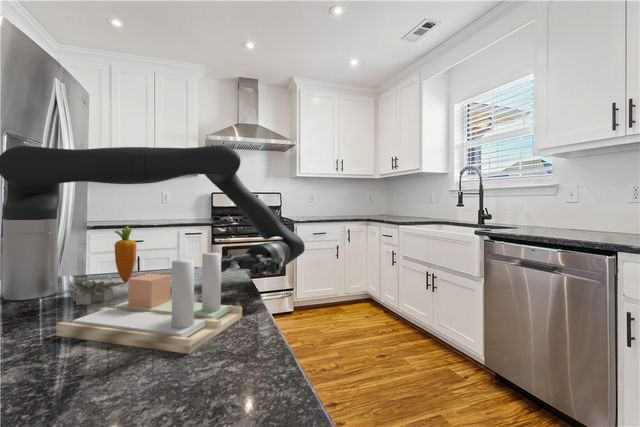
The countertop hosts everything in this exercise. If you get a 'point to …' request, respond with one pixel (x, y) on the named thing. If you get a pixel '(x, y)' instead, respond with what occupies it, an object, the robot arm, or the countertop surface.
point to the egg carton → (91, 292)
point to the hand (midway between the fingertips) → (234, 269)
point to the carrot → (125, 254)
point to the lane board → (151, 339)
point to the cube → (148, 290)
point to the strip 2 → (210, 292)
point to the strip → (157, 324)
